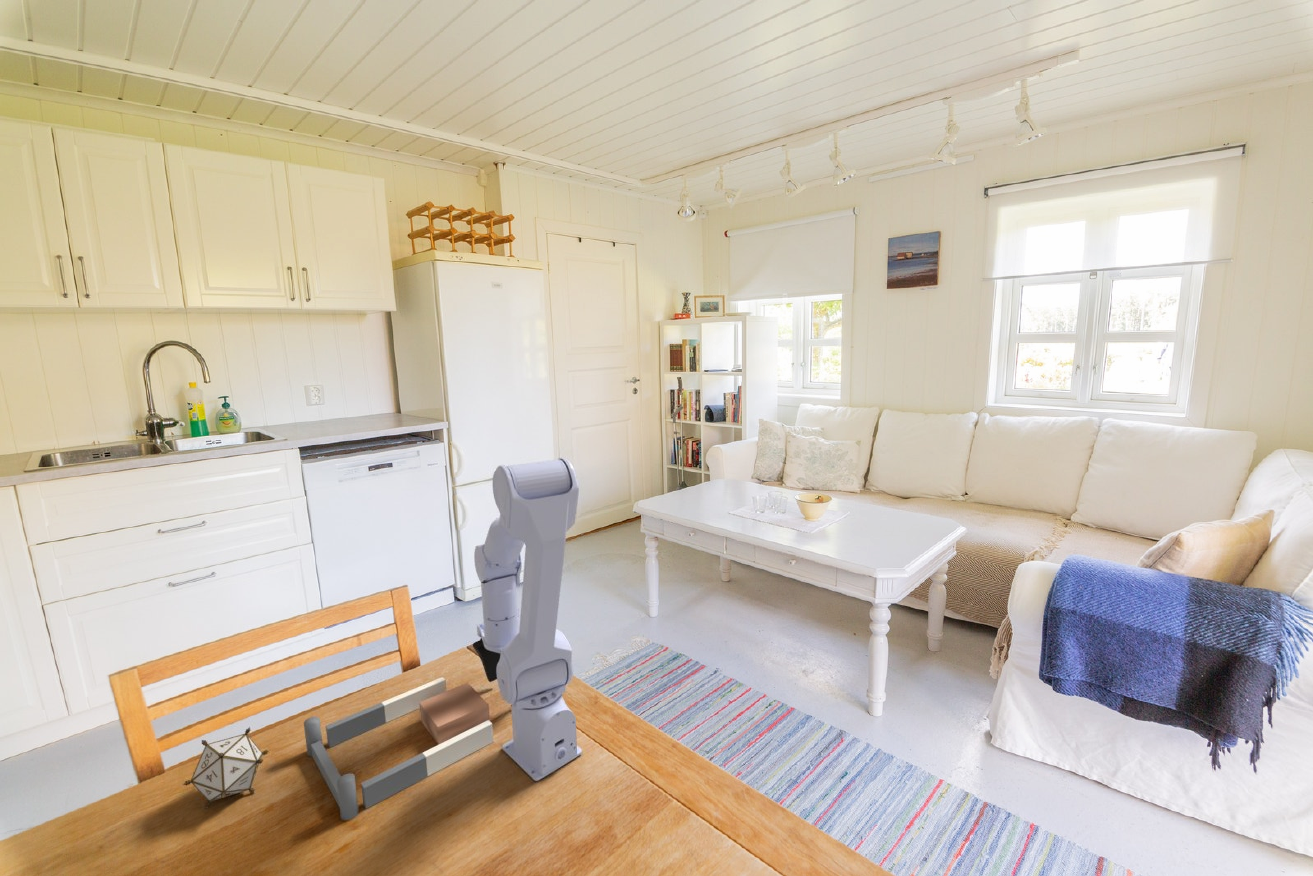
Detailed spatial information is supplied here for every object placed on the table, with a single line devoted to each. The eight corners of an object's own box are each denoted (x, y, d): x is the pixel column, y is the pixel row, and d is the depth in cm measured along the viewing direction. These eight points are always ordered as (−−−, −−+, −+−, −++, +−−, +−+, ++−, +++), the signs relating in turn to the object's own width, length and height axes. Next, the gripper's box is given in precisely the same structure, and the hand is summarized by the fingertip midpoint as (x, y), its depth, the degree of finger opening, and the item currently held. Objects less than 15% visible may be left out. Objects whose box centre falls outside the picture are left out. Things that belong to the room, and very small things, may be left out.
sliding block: (490, 724, 91) (488, 704, 90) (439, 748, 86) (437, 727, 85) (469, 701, 97) (467, 682, 96) (420, 722, 92) (419, 702, 91)
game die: (241, 825, 76) (225, 803, 70) (179, 804, 76) (157, 781, 70) (287, 755, 83) (276, 729, 77) (230, 736, 83) (215, 708, 76)
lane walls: (493, 741, 86) (492, 723, 86) (427, 776, 80) (425, 757, 79) (443, 693, 99) (442, 677, 98) (383, 719, 92) (381, 702, 91)
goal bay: (428, 778, 79) (426, 745, 78) (343, 823, 72) (339, 787, 71) (382, 718, 92) (379, 690, 91) (305, 751, 85) (302, 721, 84)
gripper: (545, 619, 93) (549, 696, 95) (501, 592, 103) (505, 662, 105) (506, 635, 88) (511, 715, 90) (463, 605, 98) (469, 678, 100)
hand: (505, 688), depth 97 cm, fingers open, 7 cm apart
